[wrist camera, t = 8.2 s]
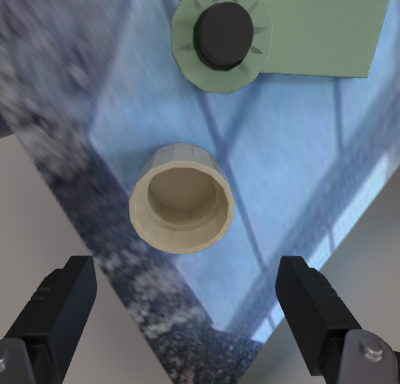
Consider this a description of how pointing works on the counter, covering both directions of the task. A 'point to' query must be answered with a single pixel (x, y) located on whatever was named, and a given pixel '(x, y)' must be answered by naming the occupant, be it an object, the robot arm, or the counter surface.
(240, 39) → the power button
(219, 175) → the bowl
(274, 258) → the counter surface
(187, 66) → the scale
